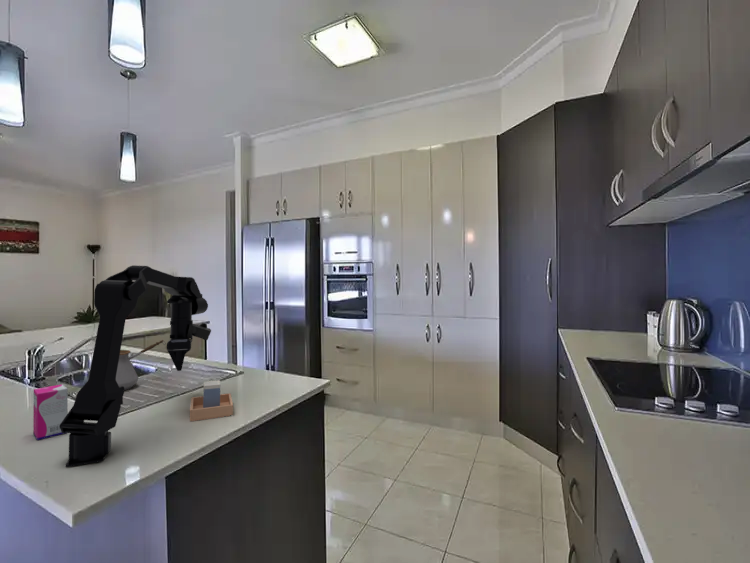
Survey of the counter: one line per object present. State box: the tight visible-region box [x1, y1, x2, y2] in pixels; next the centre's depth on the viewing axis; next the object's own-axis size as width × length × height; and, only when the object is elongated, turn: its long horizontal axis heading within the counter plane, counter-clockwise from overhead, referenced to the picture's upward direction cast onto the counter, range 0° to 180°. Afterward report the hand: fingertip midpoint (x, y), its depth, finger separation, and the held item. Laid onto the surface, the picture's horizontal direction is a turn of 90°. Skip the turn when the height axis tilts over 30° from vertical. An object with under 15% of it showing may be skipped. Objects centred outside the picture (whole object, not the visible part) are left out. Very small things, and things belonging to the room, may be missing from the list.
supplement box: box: [32, 383, 69, 441], centre depth 89 cm, size 6×6×12 cm
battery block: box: [202, 379, 221, 408], centre depth 106 cm, size 4×4×8 cm
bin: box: [189, 393, 234, 422], centre depth 106 cm, size 11×11×3 cm
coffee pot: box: [116, 339, 167, 391], centre depth 128 cm, size 21×12×15 cm, turn 149°
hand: (180, 366), depth 110 cm, fingers open, 9 cm apart
